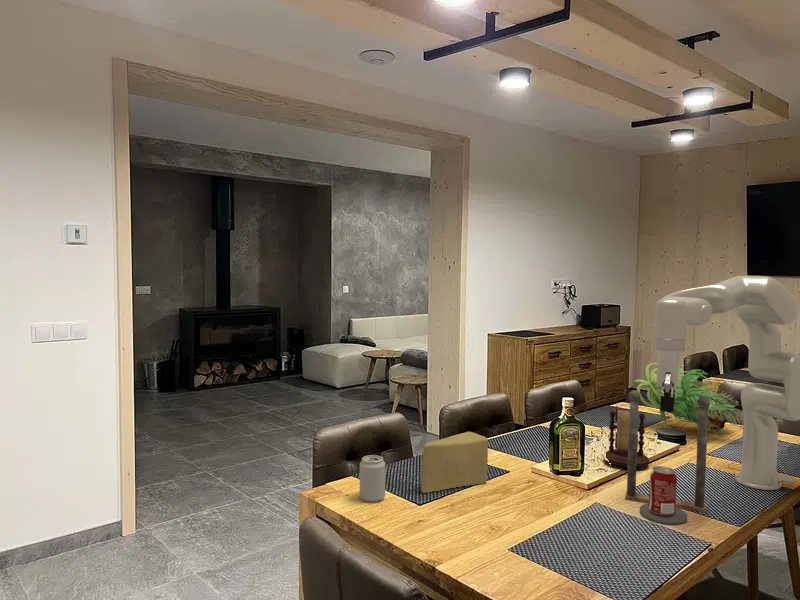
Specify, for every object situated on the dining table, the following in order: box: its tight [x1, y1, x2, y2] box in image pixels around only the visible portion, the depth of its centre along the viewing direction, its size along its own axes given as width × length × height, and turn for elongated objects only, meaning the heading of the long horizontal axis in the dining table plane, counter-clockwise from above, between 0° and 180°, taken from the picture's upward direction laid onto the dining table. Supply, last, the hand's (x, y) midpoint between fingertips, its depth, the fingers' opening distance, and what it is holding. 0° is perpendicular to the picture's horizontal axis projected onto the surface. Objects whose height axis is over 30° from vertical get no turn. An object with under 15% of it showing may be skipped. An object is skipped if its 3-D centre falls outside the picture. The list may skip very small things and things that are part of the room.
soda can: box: [648, 465, 678, 516], centre depth 165 cm, size 7×7×12 cm
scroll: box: [605, 405, 650, 471], centre depth 207 cm, size 15×15×20 cm
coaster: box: [639, 503, 688, 526], centre depth 166 cm, size 12×12×1 cm
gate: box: [624, 389, 711, 514], centre depth 173 cm, size 21×4×32 cm, turn 64°
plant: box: [632, 362, 743, 441], centre depth 248 cm, size 35×35×40 cm
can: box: [359, 454, 386, 503], centre depth 176 cm, size 8×8×12 cm
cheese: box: [420, 431, 489, 494], centre depth 186 cm, size 22×10×15 cm, turn 124°
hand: (667, 407), depth 164 cm, fingers open, 9 cm apart
